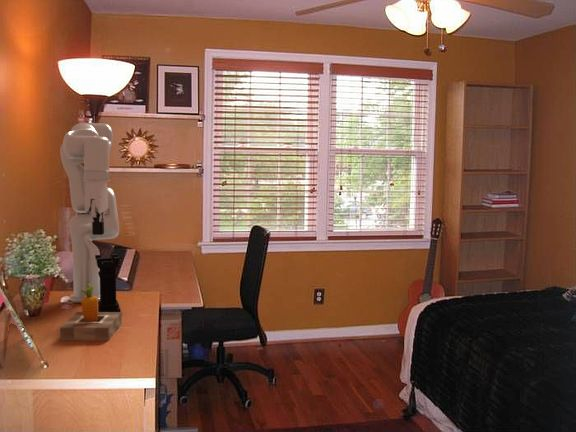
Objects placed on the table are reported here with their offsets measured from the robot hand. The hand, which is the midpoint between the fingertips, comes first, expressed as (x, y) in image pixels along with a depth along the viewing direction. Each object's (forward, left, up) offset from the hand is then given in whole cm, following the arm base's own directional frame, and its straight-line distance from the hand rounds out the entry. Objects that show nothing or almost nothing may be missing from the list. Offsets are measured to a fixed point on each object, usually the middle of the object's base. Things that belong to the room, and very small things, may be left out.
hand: (98, 234), depth 193 cm
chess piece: (-10, 0, -29) cm, 31 cm away
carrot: (+9, 0, -29) cm, 31 cm away
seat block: (+9, 0, -29) cm, 30 cm away
